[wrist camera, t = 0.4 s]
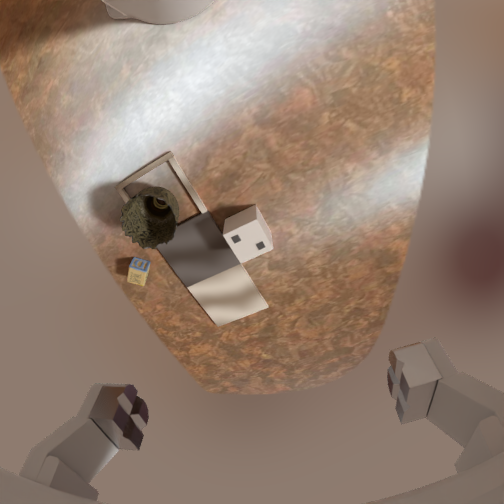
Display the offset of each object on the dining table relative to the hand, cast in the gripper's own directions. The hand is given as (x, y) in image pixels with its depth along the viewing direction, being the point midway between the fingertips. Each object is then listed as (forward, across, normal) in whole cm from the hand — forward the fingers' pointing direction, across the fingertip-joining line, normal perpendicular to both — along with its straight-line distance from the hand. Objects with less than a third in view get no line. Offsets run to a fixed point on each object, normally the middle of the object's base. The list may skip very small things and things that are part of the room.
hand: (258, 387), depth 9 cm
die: (+38, +4, +8) cm, 39 cm away
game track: (+38, +12, +11) cm, 41 cm away
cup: (+37, +15, +2) cm, 40 cm away
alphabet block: (+38, +22, +12) cm, 46 cm away
